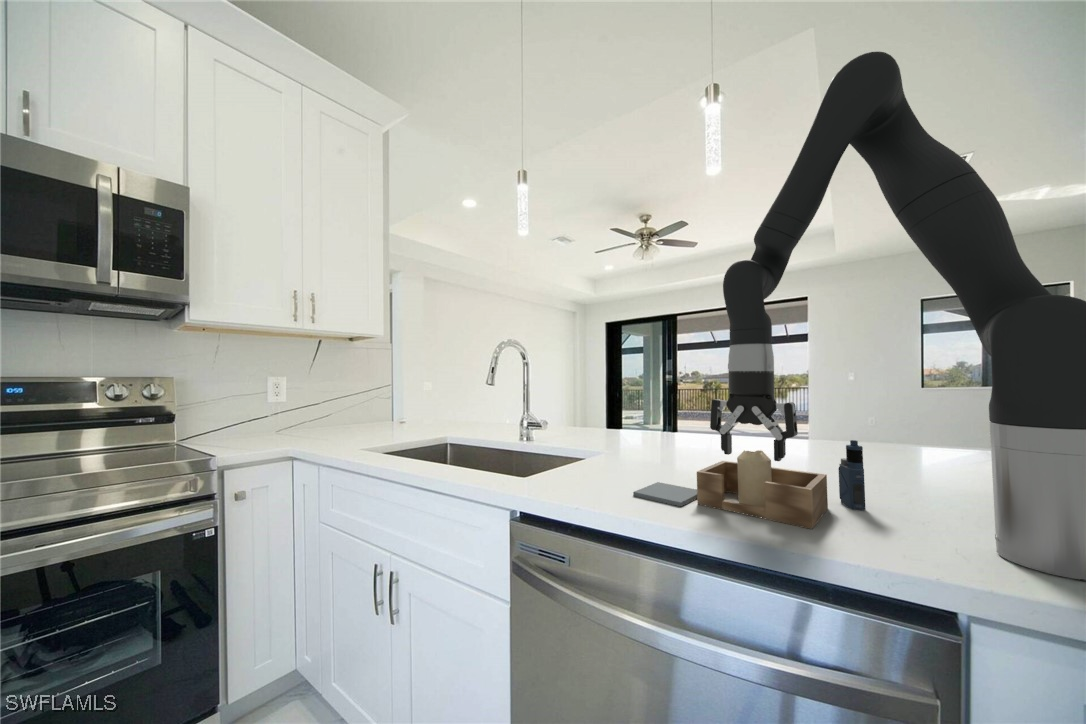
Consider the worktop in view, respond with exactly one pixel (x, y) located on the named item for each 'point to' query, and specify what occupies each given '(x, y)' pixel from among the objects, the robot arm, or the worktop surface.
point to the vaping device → (852, 477)
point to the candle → (753, 477)
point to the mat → (667, 493)
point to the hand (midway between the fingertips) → (751, 457)
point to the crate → (768, 494)
